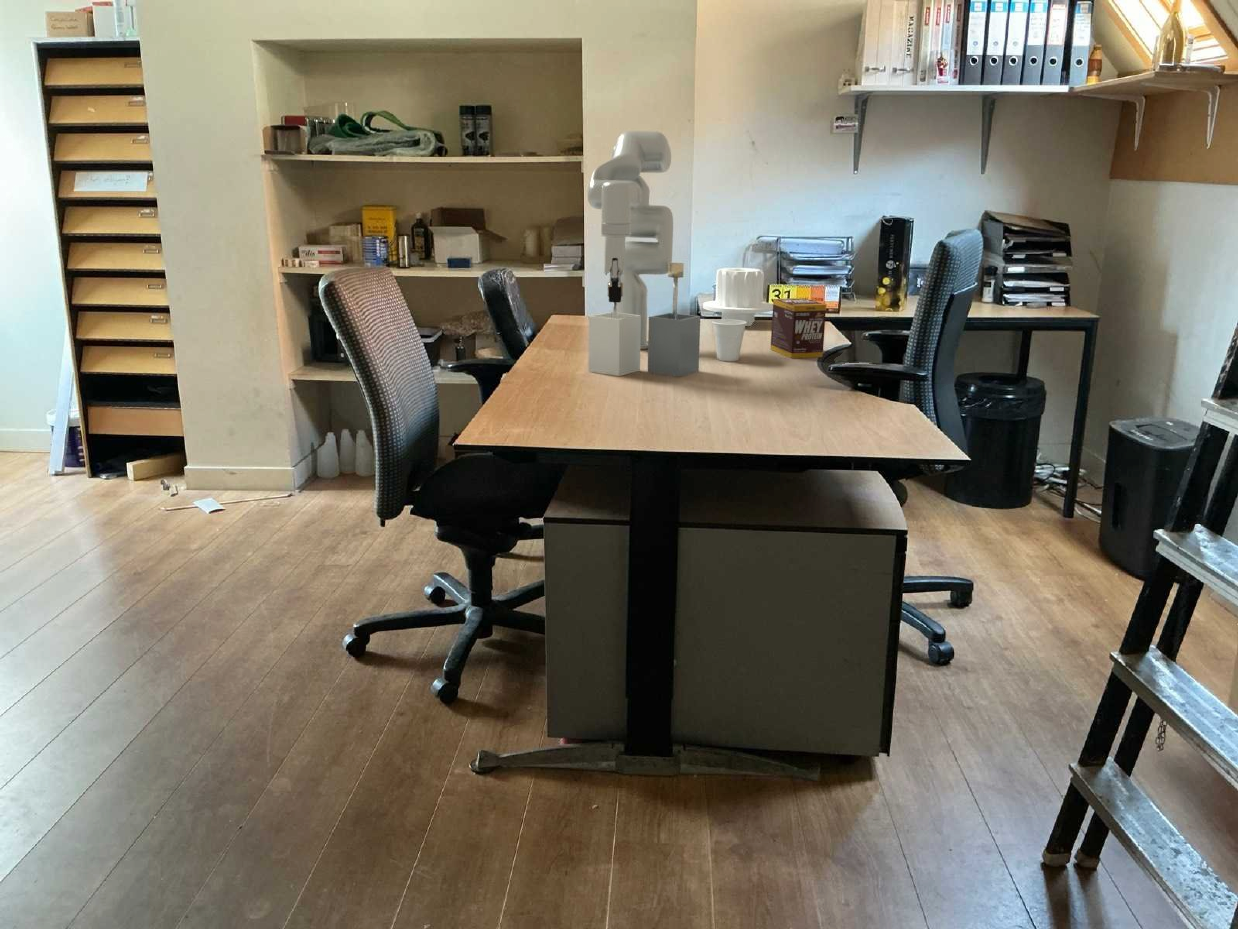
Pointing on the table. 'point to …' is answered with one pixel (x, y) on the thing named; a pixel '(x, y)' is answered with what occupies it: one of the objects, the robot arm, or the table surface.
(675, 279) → the brass knobbed plunger
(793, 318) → the supplement box
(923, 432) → the table surface
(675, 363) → the grey open box
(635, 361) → the white open box
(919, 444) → the table surface
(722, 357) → the cup
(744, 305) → the flanged gear
